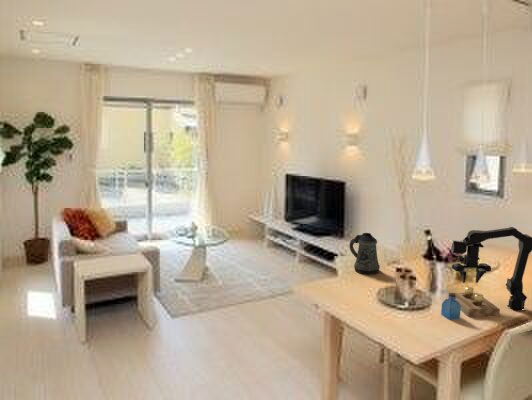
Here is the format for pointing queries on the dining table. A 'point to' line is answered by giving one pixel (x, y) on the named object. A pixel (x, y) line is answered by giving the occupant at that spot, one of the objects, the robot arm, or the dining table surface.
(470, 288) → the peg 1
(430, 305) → the dining table surface
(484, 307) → the socket board
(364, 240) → the beer stein
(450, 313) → the perfume bottle
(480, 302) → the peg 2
